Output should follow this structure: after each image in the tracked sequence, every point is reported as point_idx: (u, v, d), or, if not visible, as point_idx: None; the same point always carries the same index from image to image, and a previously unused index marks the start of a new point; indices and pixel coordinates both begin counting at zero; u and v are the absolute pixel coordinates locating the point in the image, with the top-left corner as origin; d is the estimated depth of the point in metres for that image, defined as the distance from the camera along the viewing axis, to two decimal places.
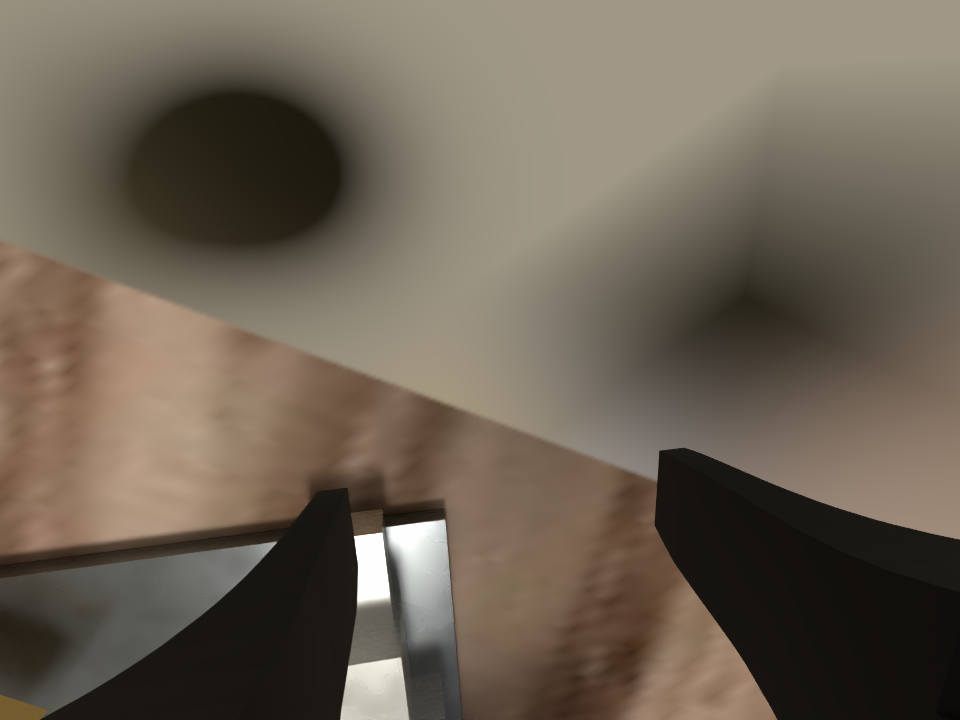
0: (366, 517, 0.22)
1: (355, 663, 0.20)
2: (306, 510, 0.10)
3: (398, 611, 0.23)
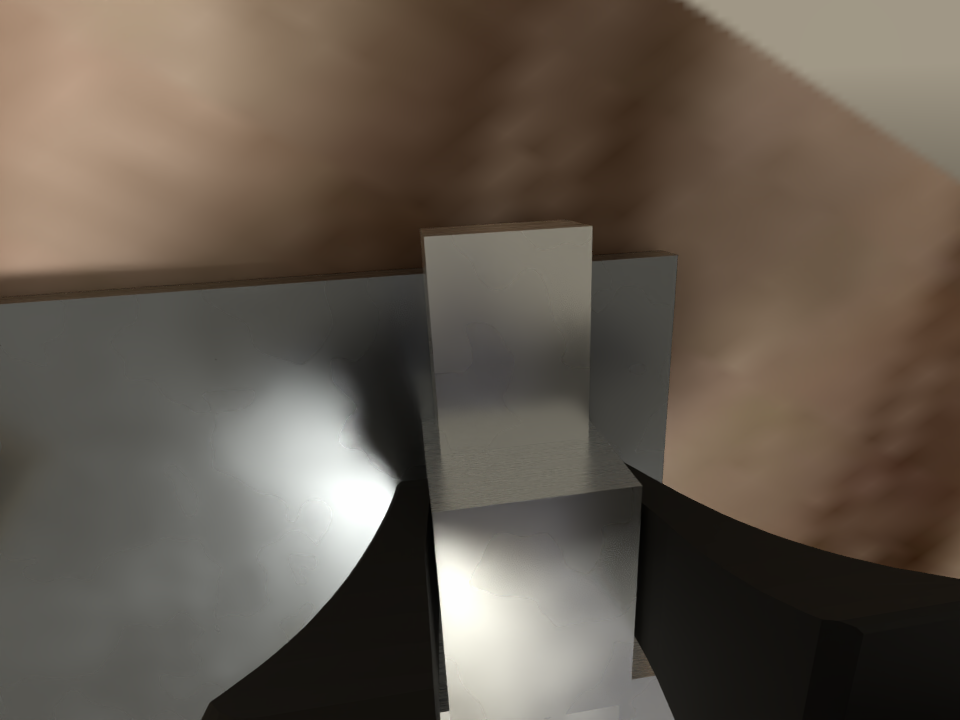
0: (540, 223, 0.11)
1: (546, 495, 0.09)
2: (398, 499, 0.11)
3: (591, 428, 0.12)
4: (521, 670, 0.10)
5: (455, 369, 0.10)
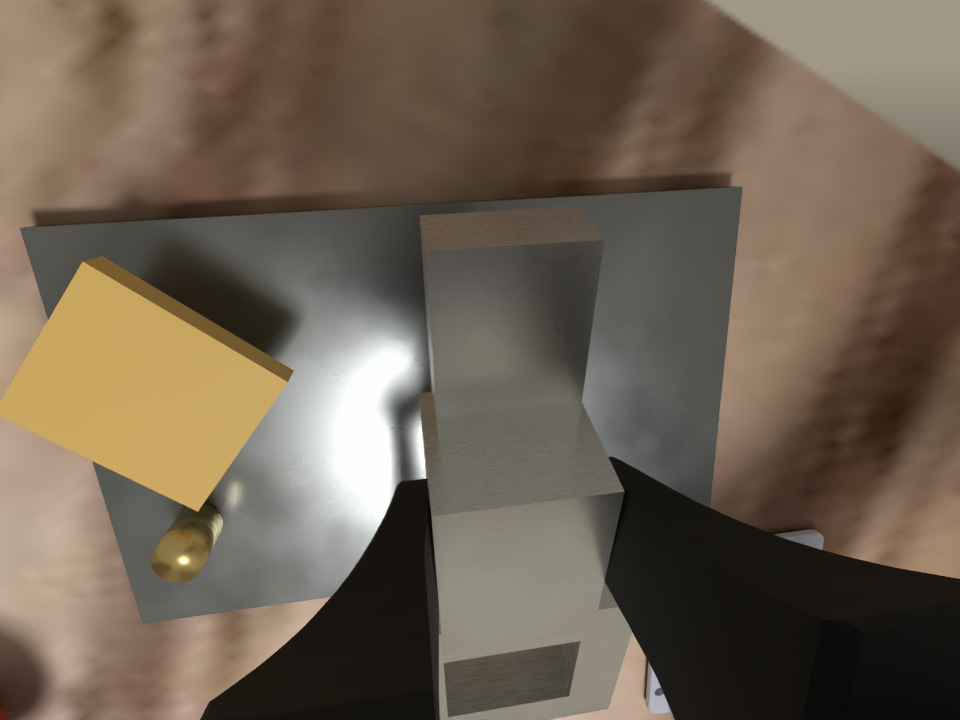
0: (549, 216, 0.10)
1: (536, 500, 0.10)
2: (398, 500, 0.11)
3: (582, 411, 0.12)
4: (504, 615, 0.12)
5: (454, 371, 0.10)
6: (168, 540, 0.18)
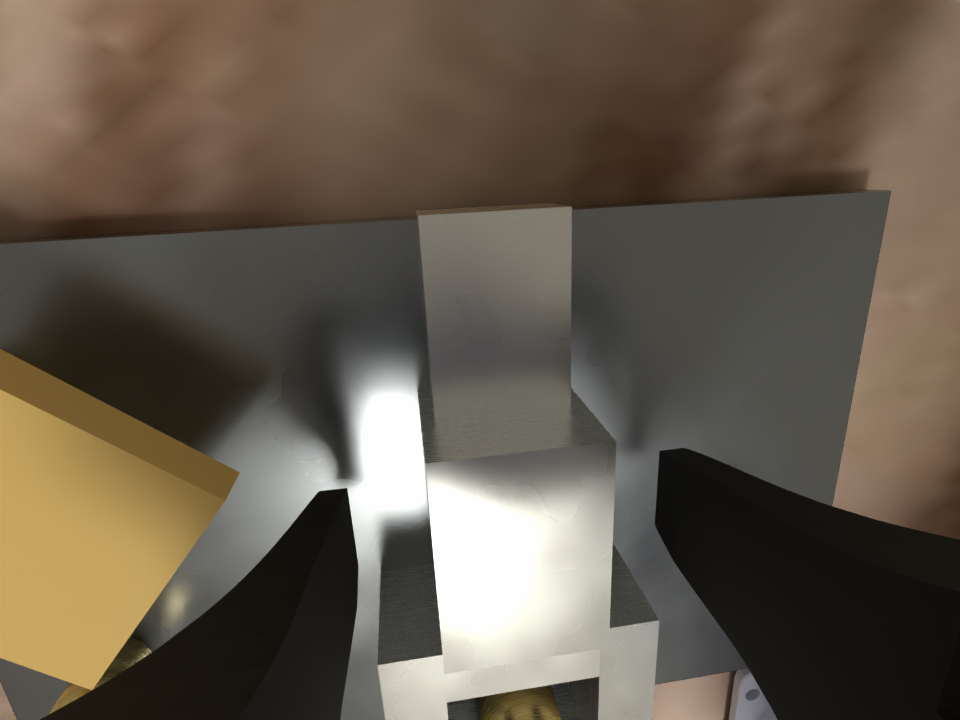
0: (526, 205, 0.12)
1: (529, 449, 0.10)
2: (306, 510, 0.10)
3: (574, 396, 0.12)
4: (507, 614, 0.11)
5: (447, 338, 0.11)
6: None
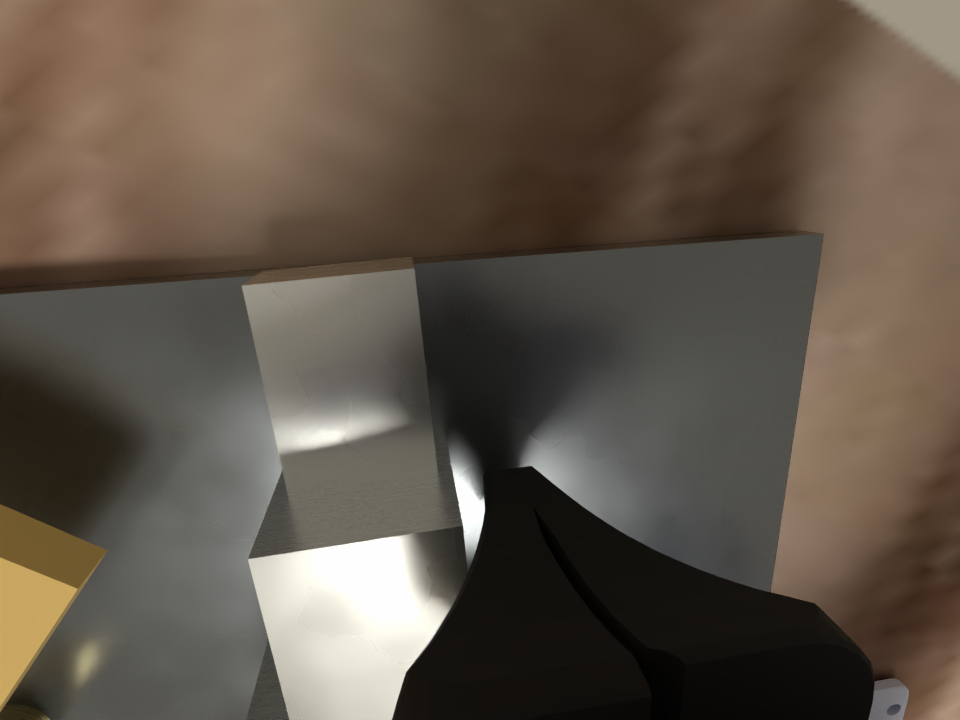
0: (379, 262, 0.11)
1: (366, 538, 0.09)
2: (495, 487, 0.11)
3: (446, 461, 0.12)
4: (365, 706, 0.10)
5: (291, 411, 0.10)
6: None
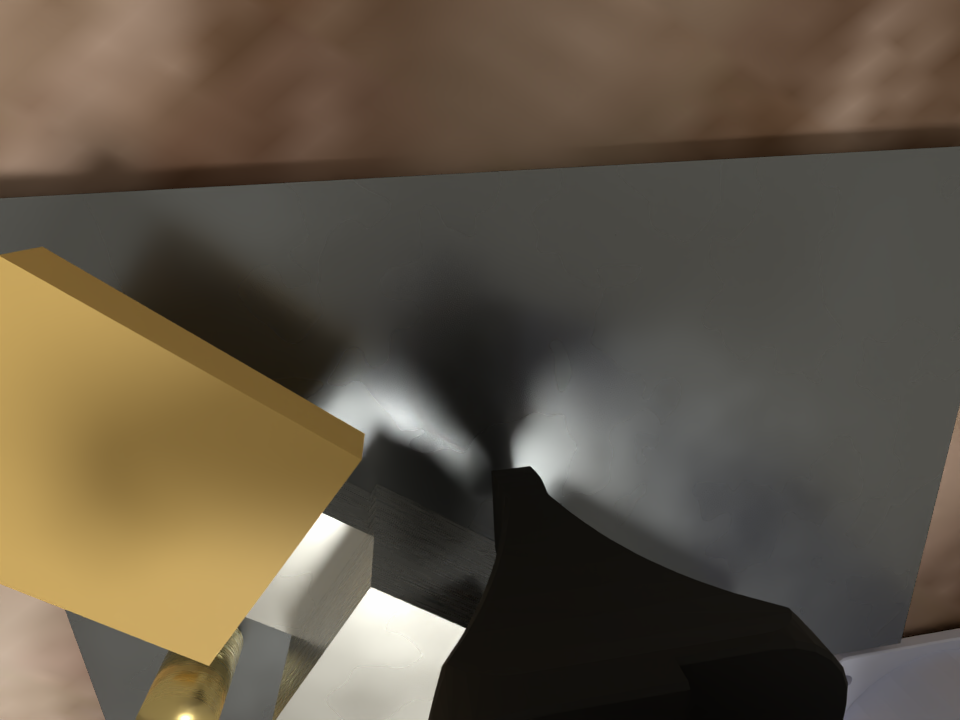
0: None
1: (322, 651, 0.10)
2: (513, 485, 0.11)
3: (373, 514, 0.12)
4: None
5: None
6: (162, 692, 0.11)
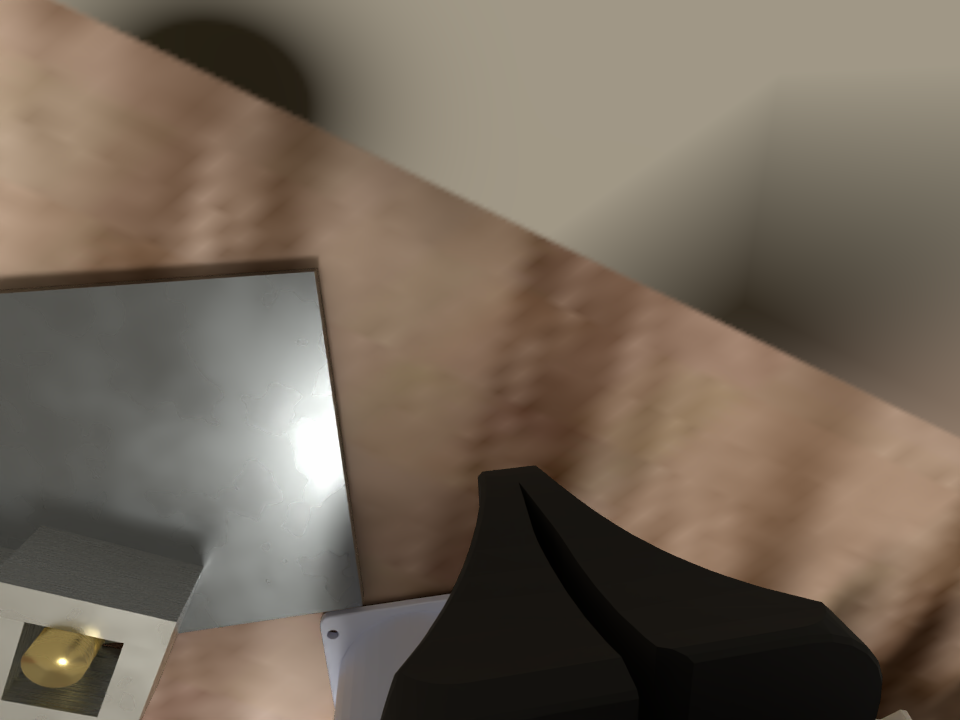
0: None
1: None
2: (489, 488, 0.11)
3: None
4: None
5: None
6: None
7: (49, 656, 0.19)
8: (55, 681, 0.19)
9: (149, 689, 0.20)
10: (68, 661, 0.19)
